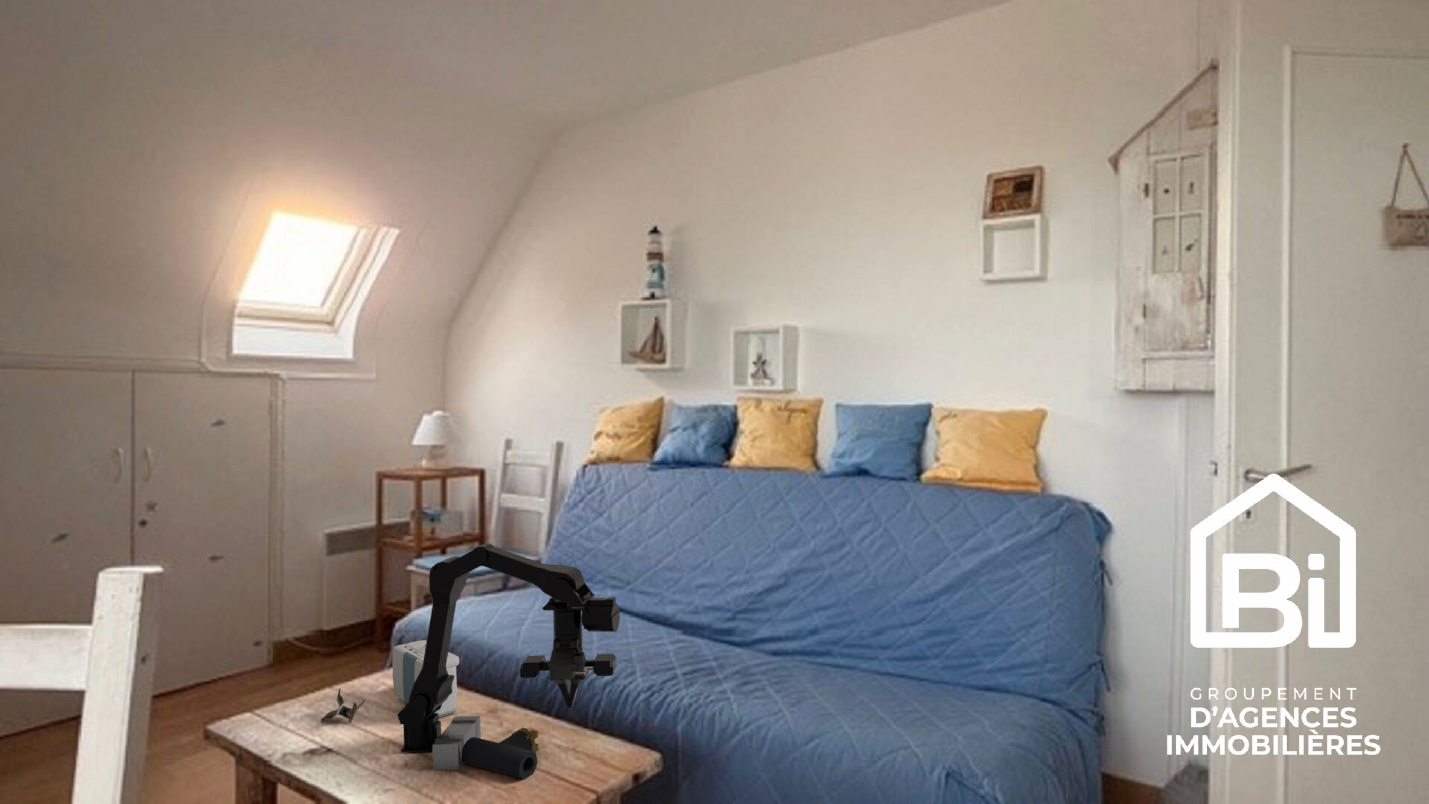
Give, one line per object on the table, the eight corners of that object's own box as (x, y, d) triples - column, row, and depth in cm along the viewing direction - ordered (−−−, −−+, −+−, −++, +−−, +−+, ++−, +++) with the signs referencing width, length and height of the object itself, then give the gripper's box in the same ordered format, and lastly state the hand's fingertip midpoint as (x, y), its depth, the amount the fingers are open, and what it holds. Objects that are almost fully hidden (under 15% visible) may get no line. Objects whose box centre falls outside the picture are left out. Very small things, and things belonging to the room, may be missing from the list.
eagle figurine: (372, 710, 185) (344, 697, 189) (360, 691, 181) (333, 678, 185) (346, 738, 180) (319, 724, 184) (334, 719, 176) (306, 705, 180)
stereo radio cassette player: (392, 700, 195) (389, 617, 194) (425, 691, 200) (423, 611, 200) (427, 724, 179) (425, 635, 179) (462, 713, 185) (460, 627, 185)
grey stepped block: (433, 770, 157) (432, 742, 157) (457, 739, 171) (456, 714, 171) (458, 769, 157) (458, 742, 156) (480, 739, 171) (480, 713, 170)
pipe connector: (502, 719, 168) (558, 732, 161) (503, 744, 168) (559, 758, 161) (460, 742, 158) (518, 757, 151) (462, 769, 158) (519, 785, 151)
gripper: (511, 644, 155) (514, 724, 155) (607, 642, 155) (610, 722, 155) (526, 627, 166) (528, 702, 166) (615, 625, 166) (618, 700, 166)
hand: (570, 707), depth 163 cm, fingers closed
